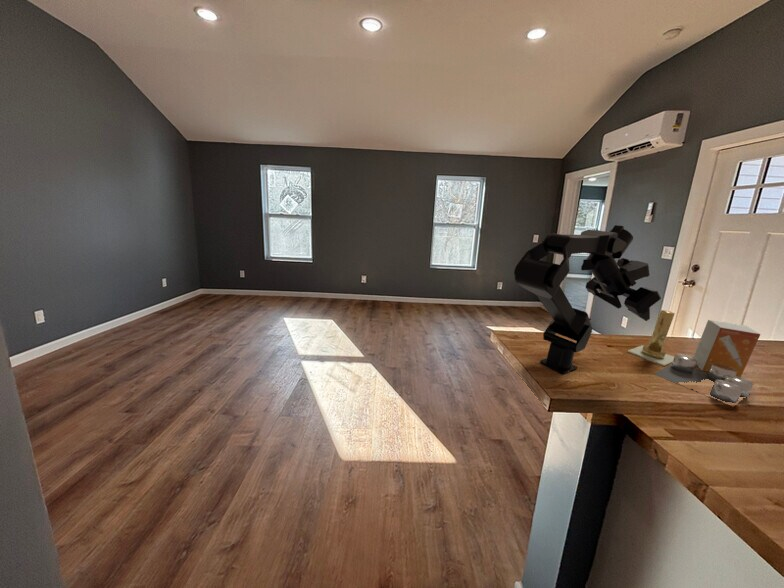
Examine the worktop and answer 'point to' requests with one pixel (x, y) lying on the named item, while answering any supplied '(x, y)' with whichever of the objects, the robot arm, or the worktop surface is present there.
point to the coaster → (663, 362)
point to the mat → (681, 375)
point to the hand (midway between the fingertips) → (633, 313)
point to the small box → (725, 346)
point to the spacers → (717, 379)
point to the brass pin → (659, 336)
